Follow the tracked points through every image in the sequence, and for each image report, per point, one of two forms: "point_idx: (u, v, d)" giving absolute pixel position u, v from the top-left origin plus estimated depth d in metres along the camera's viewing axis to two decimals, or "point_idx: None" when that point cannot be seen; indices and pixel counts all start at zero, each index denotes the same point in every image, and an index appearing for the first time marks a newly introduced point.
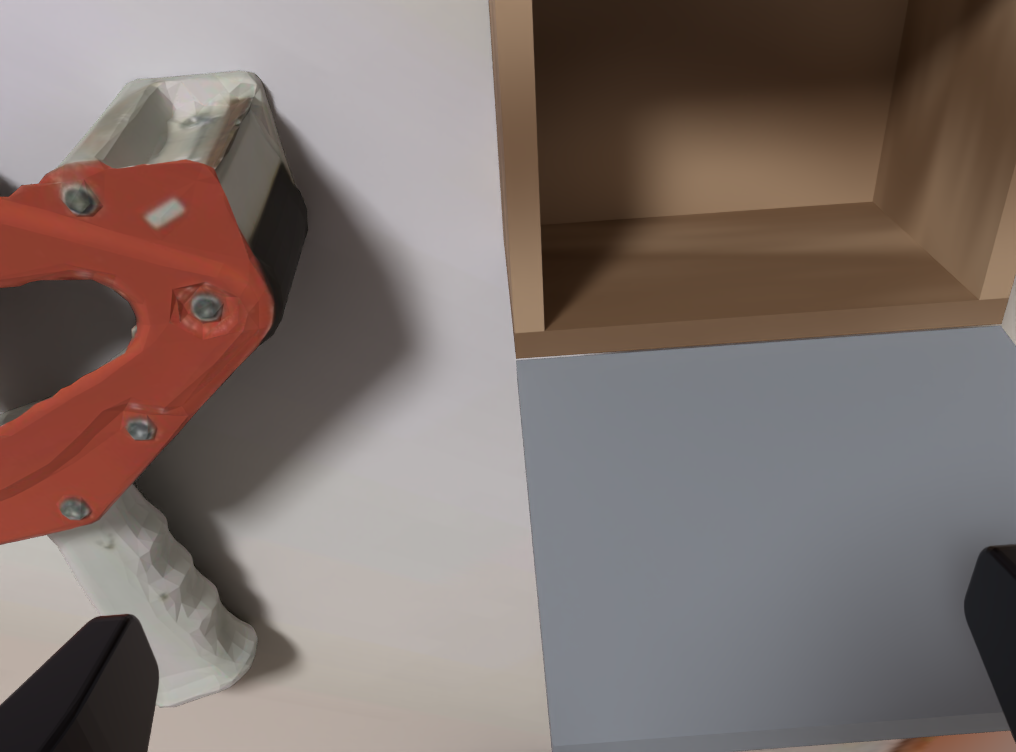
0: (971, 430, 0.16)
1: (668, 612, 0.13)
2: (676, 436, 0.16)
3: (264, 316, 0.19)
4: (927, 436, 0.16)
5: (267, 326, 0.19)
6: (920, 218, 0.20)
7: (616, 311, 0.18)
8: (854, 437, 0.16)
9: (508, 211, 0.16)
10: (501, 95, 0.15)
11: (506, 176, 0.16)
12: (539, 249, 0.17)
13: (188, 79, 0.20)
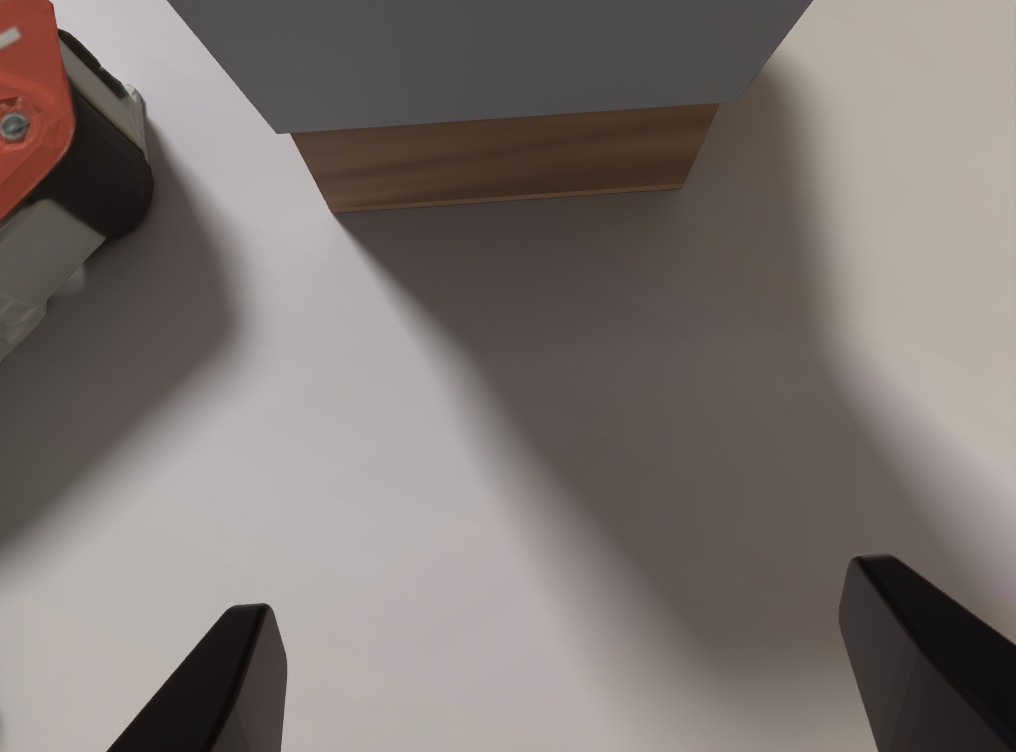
0: None
1: None
2: None
3: (63, 136, 0.20)
4: None
5: (64, 147, 0.20)
6: None
7: None
8: None
9: None
10: None
11: None
12: None
13: None
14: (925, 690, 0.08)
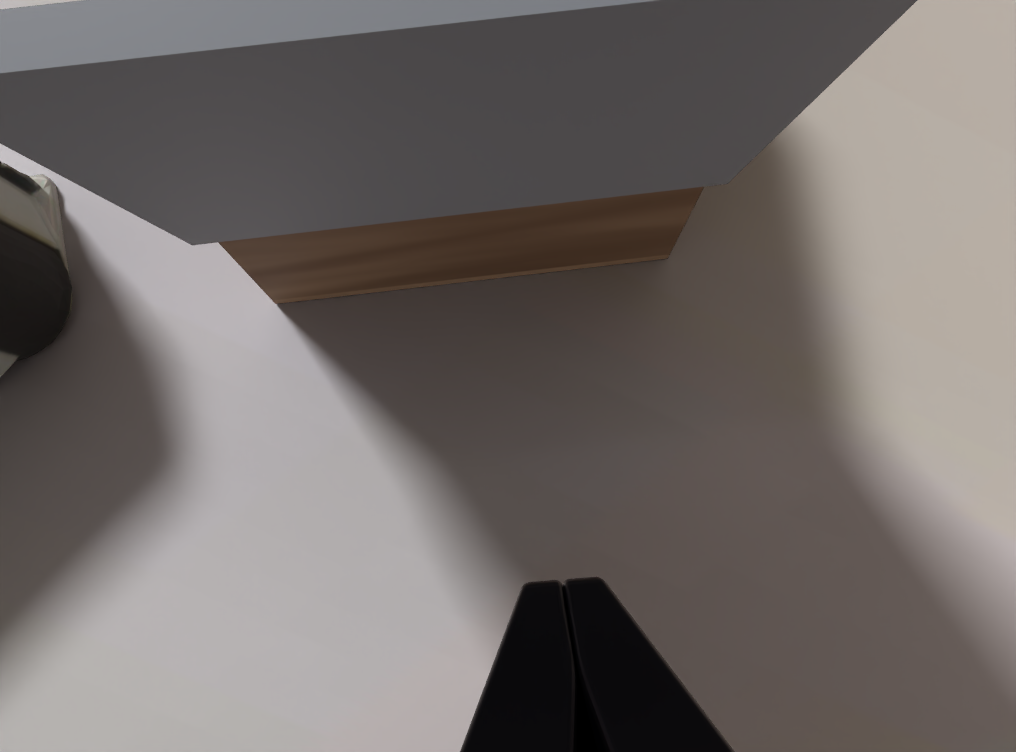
0: None
1: None
2: None
3: None
4: None
5: None
6: None
7: None
8: None
9: None
10: None
11: None
12: None
13: None
14: (585, 718, 0.08)
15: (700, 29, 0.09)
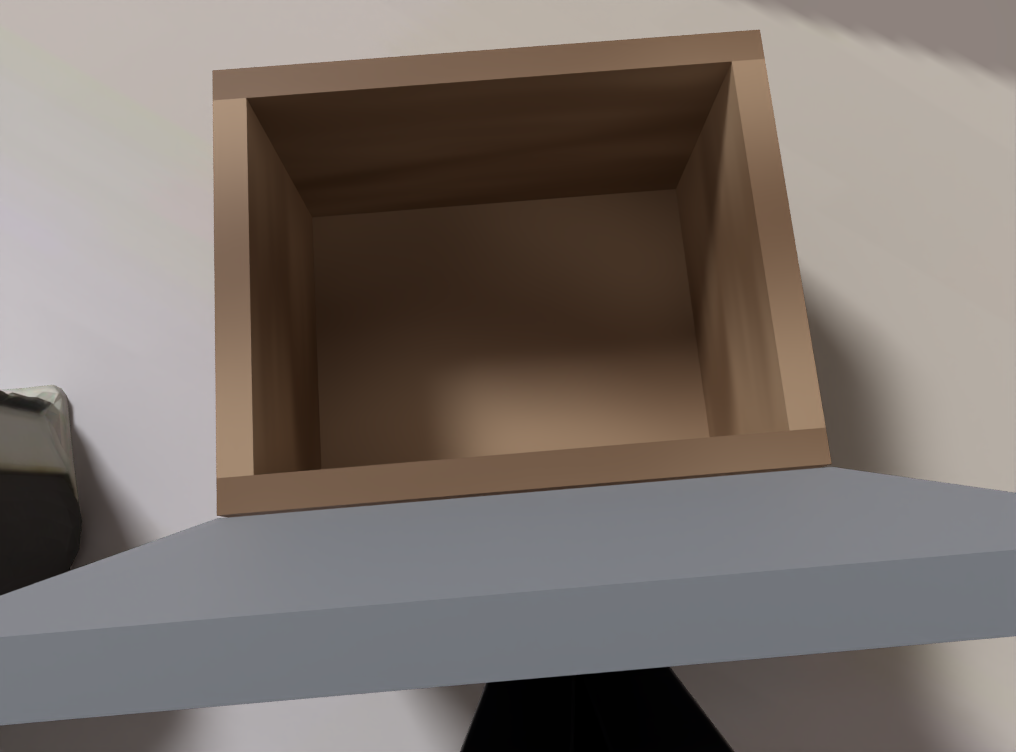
0: (773, 490, 0.11)
1: (219, 576, 0.08)
2: (370, 521, 0.12)
3: None
4: (710, 496, 0.11)
5: None
6: (738, 426, 0.17)
7: None
8: (610, 503, 0.11)
9: (216, 326, 0.15)
10: (214, 208, 0.15)
11: (215, 287, 0.15)
12: (249, 368, 0.15)
13: None
14: (585, 717, 0.08)
15: None
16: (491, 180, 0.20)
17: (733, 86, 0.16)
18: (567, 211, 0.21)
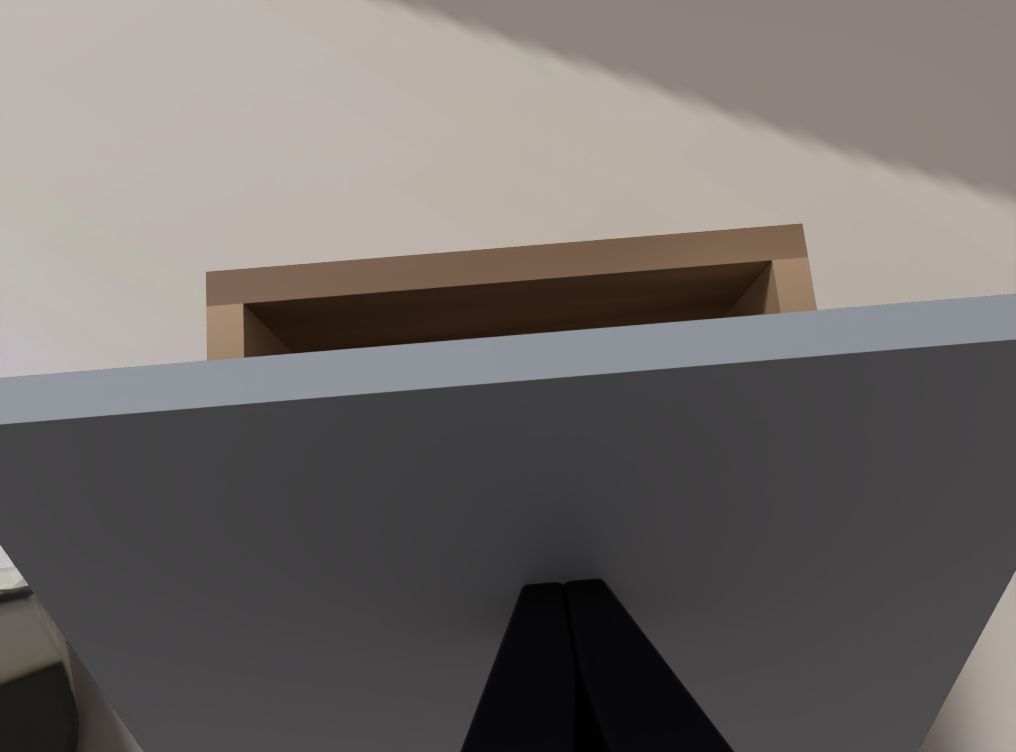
0: None
1: None
2: None
3: None
4: None
5: None
6: None
7: None
8: None
9: None
10: None
11: None
12: None
13: None
14: (585, 718, 0.08)
15: (860, 419, 0.08)
16: None
17: (773, 286, 0.15)
18: None
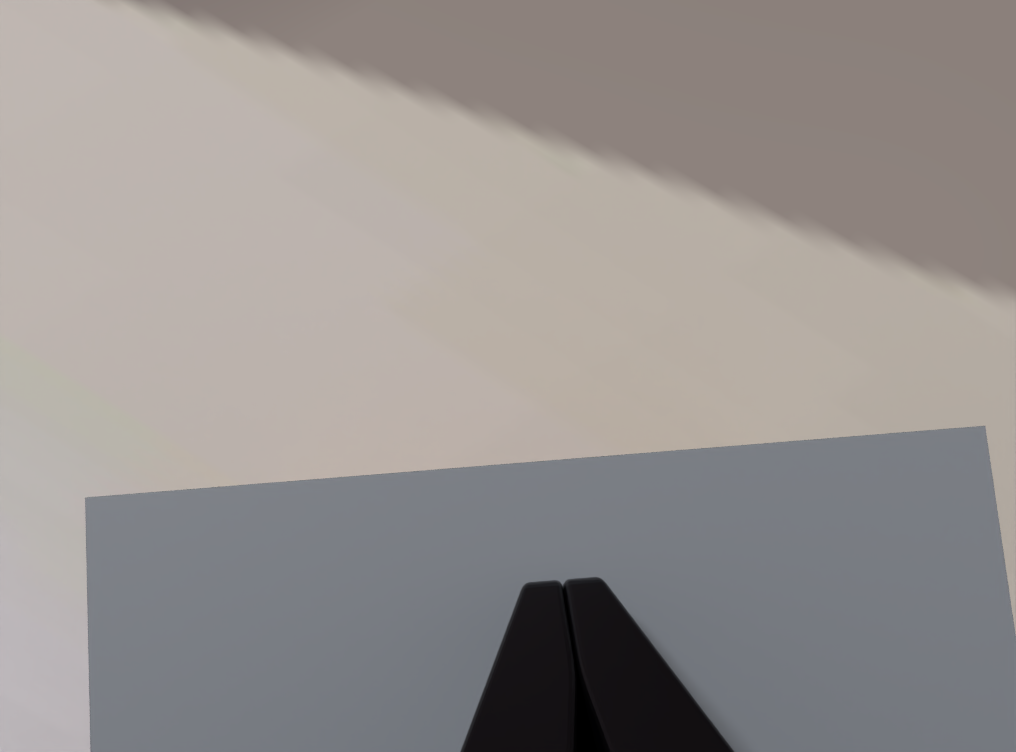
0: None
1: None
2: None
3: None
4: None
5: None
6: None
7: None
8: None
9: None
10: None
11: None
12: None
13: None
14: (585, 718, 0.08)
15: (796, 512, 0.10)
16: None
17: None
18: None
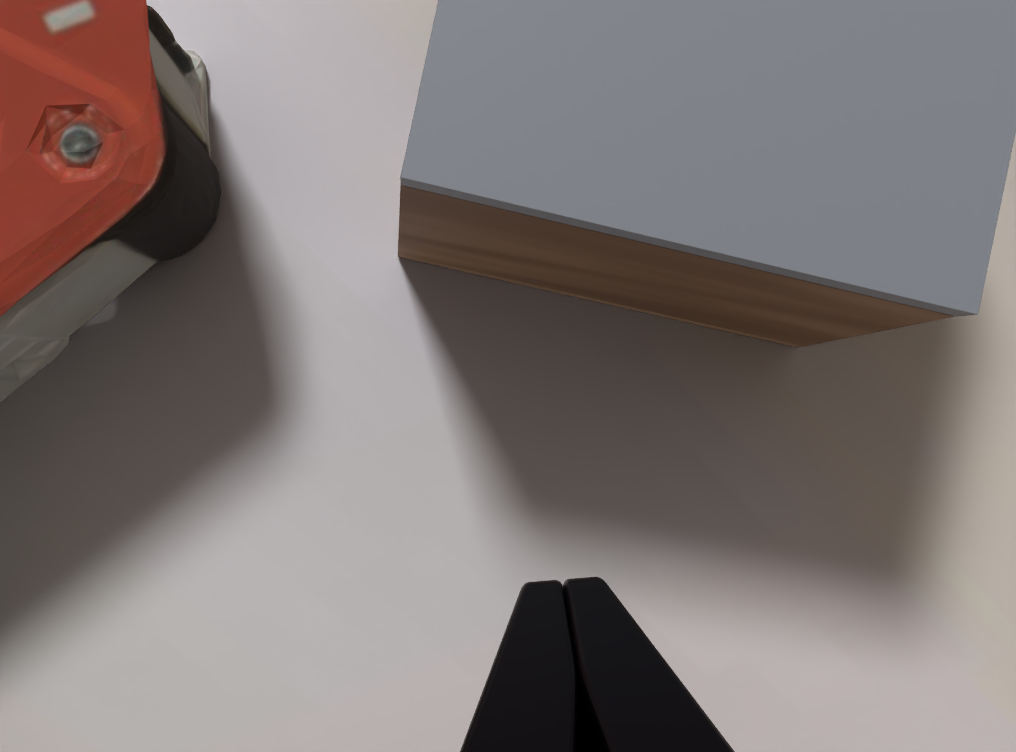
0: None
1: None
2: None
3: (148, 168, 0.15)
4: None
5: (148, 183, 0.15)
6: None
7: None
8: None
9: None
10: None
11: None
12: None
13: None
14: (586, 717, 0.08)
15: None
16: None
17: None
18: None
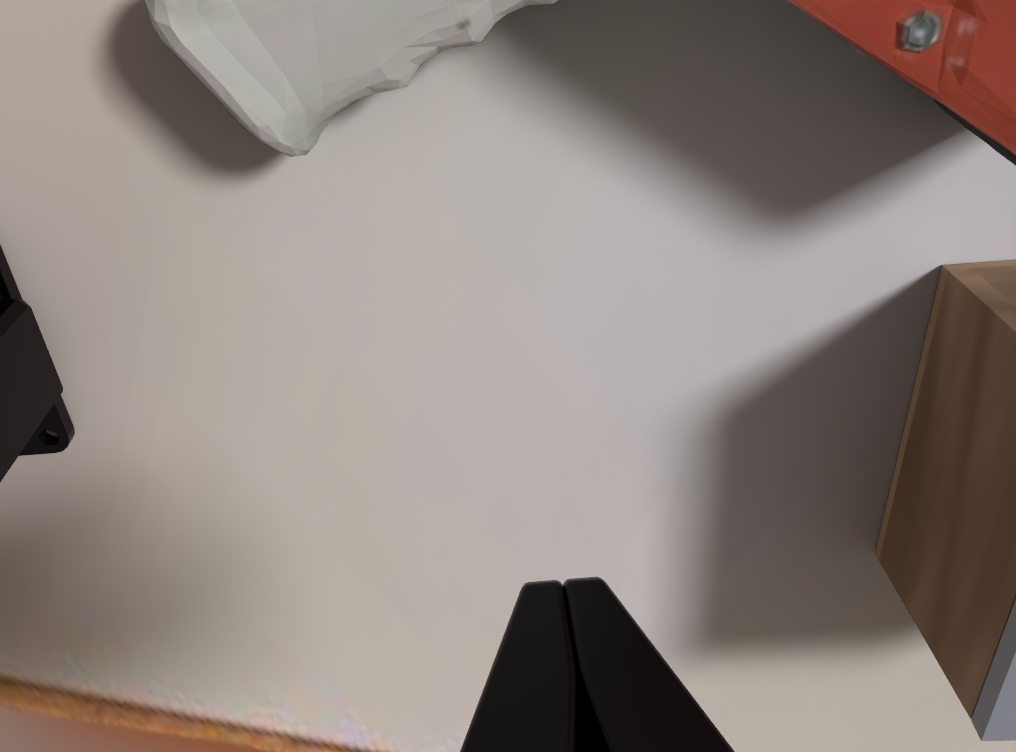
0: None
1: None
2: None
3: None
4: None
5: None
6: None
7: None
8: None
9: None
10: None
11: None
12: None
13: None
14: (585, 717, 0.08)
15: None
16: None
17: None
18: None
